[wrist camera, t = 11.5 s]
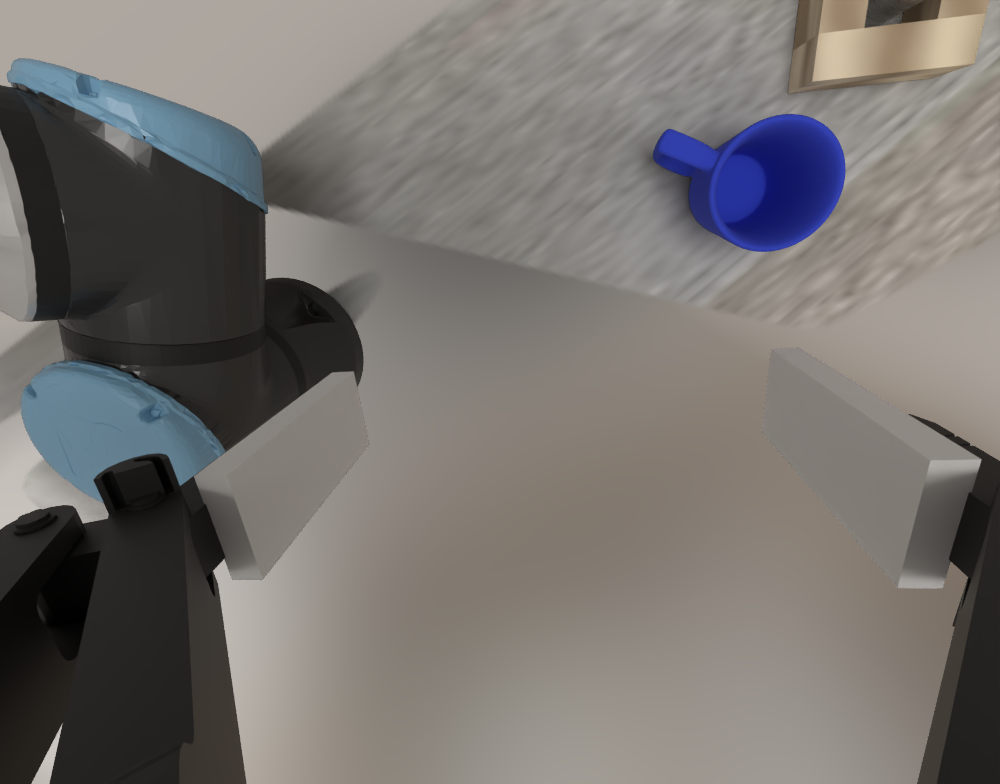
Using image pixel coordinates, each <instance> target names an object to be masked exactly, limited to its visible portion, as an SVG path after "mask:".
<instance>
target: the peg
mask: <svg viewBox="0 0 1000 784" xmlns="http://www.w3.org/2000/svg"><path fill="white" fill-rule="evenodd" d="M922 1H923V0H869V1H868V7H867V13H866V19H865V25H864V28H869V27H877V26H880V25H882V24H883V23H885V22H887V21H889V20H890V19H892V18H894V17H896V16H897V15H899V14H901V13H903V12H904V11H906V10H908V9H909V8H911V7H913V6H915V5H916V4H918V3H920V2H922Z"/></svg>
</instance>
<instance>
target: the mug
mask: <svg viewBox="0 0 1000 784" xmlns="http://www.w3.org/2000/svg"><path fill="white" fill-rule="evenodd" d="M653 159H654V161H655V162H656V163H657V164H659V165H660V166H662V167H664V168H666V169H668V170H670V171H672V172H675V173H677V174H680V175H683V176H689V177H692V180H691V184H690V188H689V204H690V208H691V211H692V213H693V215H694V217H695V219H696V220H697V221H698V222H699V223H700V224H701V225H702V226H703V227H704V228H706V229H707V230H709V231H711V232H712V233H714V234H716V235H718V236H720V237H722V238H723V239H725V240H727V241H729V242H731V243H733V244H734V245H736V246H738V247H741V248H743V249H747V250H751V251H759V252H767V251H775V250H780V249H784V248H787V247H790V246H792V245H794V244H796V243H798V242H800V241H802V240H804V239H805V238H807V237H808V236H810V235H811V234H812V233H813V232H815V231H816V230H817V229H818V228H819V227H820V226H821V225H822V224H823V223H824V222H825V221H826V219H827V218H828V217H829V215H830V214H831V213H832V211H833V209H834V208H835V206H836V204H837V202H838V200H839V197H840V195H841V192H842V189H843V185H844V180H845V159H844V154H843V150H842V148H841V145H840V143H839V141H838V139H837V138H836V136H835V135H834V134H833V133H832V131H831V130H830V129H829V128H828V127H826V126H825V125H824V124H822V123H821V122H819V121H817V120H815V119H813V118H810V117H807V116H803V115H796V114H784V115H777V116H773V117H769V118H766V119H763V120H761V121H759V122H757V123H755V124H753V125H751V126H750V127H748V128H746V129H745V130H744V131H742V132H741V133H739V134H738V135H736V136H735V137H733V138H732V139H730V140H729V141H727V142H726V143H724V144H723V145H721V146H720V147H718V148H717V149H716V150H714V149H712V148H711V147H709V146H708V145H706V144H704V143H702V142H700V141H698V140H696V139H694V138H691V137H689V136H687V135H685V134H682V133H680V132H677V131H675V130H672V129H668V130H666V131H665V132H664V133H663V134H662V136H661V137H660V139H659V140H658V142H657V144H656V146H655V149H654V151H653Z"/></svg>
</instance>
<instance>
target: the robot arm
mask: <svg viewBox="0 0 1000 784" xmlns="http://www.w3.org/2000/svg"><path fill="white" fill-rule="evenodd" d="M7 78H8V82H10V83H11V85H12V86H13V87H6V86H1V85H0V311H1V312H3V313H5V314H7V315H9V316H11V317H13V318H14V319H16V320H18V321H28V322H30V321H46V320H58V322H59V328H60V333H61V339H62V345H63V350H64V356H65V361H60V362H56V363H52V364H51V365H48V366H46V367H45V368H43V369H42V371H41V372H40V373H39V374H36V375H35V376H34V377H33V378H32V380H31V382H30V383H31V384H29V385H27V386H26V387H25V388H24V391H23V394H22V397H21V414H22V419H23V422H24V425H25V428H26V431H27V432H28V435H29V437H30V439H31V441H32V442H33V444H34V446H35V447H36V449H37V450H38V451H39V453H40V454H41V455H42V457H43V458H44V459H45V460H46V461H47V462H48V464H49V465H50V466H51V467H52V468H53V469H54V470H55V471H56V472H57V473H58V474H59V475H60V476H62V477H63V478H64V479H66V480H67V481H69V482H70V483H72V484H73V485H74V486H75V487H76V488H77V489H79V490H80V491H82V492H83V493H85V494H87V495H88V496H90V497H92V498H94V499H96V500H98V501H100V502H102V503H104V504H105V507H106V509H107V511H108V513H109V516H108V519H104V520H99V521H94V522H89V523H84V524H83V523H82V521H81V519H80V517H79V515H78V513H77V511H76V509H75V508H74V507H73V506H68V505H62V506H55V507H50V508H47V509H43V510H42V509H38V510H35V511H32V512H30V513H28V514H25V515H22V516H20V517H19V518H18V519H17V520H16V521H14V522H12V523H10V524H8V525H6V526H5V527H3V528H2V529H1V530H0V784H31V783H32V781H33V779H34V777H35V775H36V773H37V771H38V769H39V767H40V765H41V764H42V762H43V760H44V758H45V755H46V754H47V752H48V750H49V748H50V746H51V744H52V742H53V740H54V738H55V736H56V734H57V732H58V731H59V728H60V727H61V725H62V723H63V725H62V729H61V734H60V738H59V743H58V747H57V752H56V757H55V761H54V766H53V770H52V775H51V780H50V784H246V778H245V771H244V764H243V756H242V750H241V743H240V735H239V728H238V721H237V714H236V707H235V701H234V694H233V686H232V679H231V673H230V665H229V658H228V651H227V644H226V637H225V630H224V623H223V616H222V609H221V602H220V595H219V588H218V583H217V580H216V578H215V575H214V572H213V570H214V569H215V568H216V567H217V566H218V565H219V564H220V563H221V562H222V561H223V559H225V562H226V564H227V567H228V570H229V572H230V575H231V578H232V580H263V579H264V578H265V576H266V575H267V574H268V573H269V571H270V570H271V569H272V567H273V566H274V565H275V564H276V562H277V561H278V560H279V559H280V557H281V556H282V555H283V553H284V552H285V551H286V550H287V548H288V547H289V546H290V545H291V543H292V542H293V541H294V539H295V538H296V537H297V536H298V534H299V533H300V532H301V531H302V529H303V528H304V527H305V525H306V524H307V523H308V522H309V520H310V519H311V518H312V516H313V515H314V514H315V513H316V511H317V510H318V509H319V508H320V506H321V505H322V504H323V503H324V501H325V500H326V499H327V497H328V496H329V495H330V494H331V492H332V491H333V490H334V489H335V487H336V486H337V485H338V484H339V482H340V481H341V480H342V478H343V477H344V476H345V475H346V473H347V472H348V471H349V470H350V468H351V467H352V466H353V464H354V463H355V462H356V461H357V459H358V458H359V457H360V455H361V454H362V453H363V452H364V450H365V449H366V448H367V447H368V445H369V440H368V436H367V431H366V426H365V422H364V417H363V413H362V408H361V403H360V399H359V394H358V389H357V387H358V384H359V382H360V379H361V376H362V371H363V350H362V345H361V341H360V338H359V335H358V332H357V330H356V328H355V326H354V324H353V322H352V320H351V319H350V317H349V316H348V314H347V313H346V312H345V310H344V309H343V308H342V307H341V306H340V305H339V304H338V303H337V302H336V301H335V300H334V299H333V298H332V297H331V296H330V295H328V294H327V293H325V292H324V291H322V290H321V289H319V288H317V287H316V286H313V285H311V284H309V283H306V282H304V281H300V280H296V279H290V278H272V279H267V280H266V256H265V255H266V254H265V253H266V251H265V250H266V249H265V214H267V213H268V207H267V204H266V203H265V202H264V191H263V175H262V161H261V156H260V153H259V151H258V149H257V147H256V146H255V144H254V143H253V141H251V139H250V138H249V137H248V136H247V135H246V134H245V133H243V132H242V131H241V130H239V129H237V128H236V127H234V126H232V125H230V124H228V123H226V122H223V121H221V120H219V119H216V118H214V117H211V116H209V115H206V114H204V113H201V112H199V111H196V110H193V109H191V108H188V107H186V106H183V105H180V104H177V103H174V102H171V101H169V100H166V99H163V98H160V97H157V96H154V95H151V94H148V93H146V92H143V91H139V90H136V89H133V88H130V87H127V86H124V85H121V84H118V83H114V82H111V81H108V80H99V79H97V78H95V77H93V76H90V75H86V74H82V73H78V72H76V71H73V70H70V69H68V68H65V67H61V66H58V65H54V64H50V63H46V62H42V61H38V60H33V59H21V58H19V59H17V60H15V61H13V63H12V66H11V70H10V71H9V72H8V73H7ZM762 433H763V435H764V436H765V437H766V438H767V439H768V440H769V441H770V443H771V444H772V445H773V446H774V447H775V448H776V449H777V451H778V452H779V453H780V454H781V455H782V456H783V457H784V459H785V460H786V461H787V462H788V463H789V464H790V466H791V467H792V468H793V469H794V470H795V471H796V472H797V473H798V475H799V476H800V477H801V478H802V479H803V480H804V481H805V483H806V484H807V485H808V486H809V487H810V488H811V489H812V491H813V492H814V493H815V494H816V495H817V496H818V498H819V499H820V500H821V501H822V502H823V503H824V504H825V506H826V507H827V508H828V509H829V510H830V511H831V513H832V514H833V515H834V516H835V517H836V518H837V519H838V521H840V523H841V524H842V525H843V526H844V527H845V528H846V530H847V531H848V532H849V533H850V534H851V535H852V537H853V538H854V539H855V540H856V541H857V542H858V543H859V545H860V546H861V547H862V548H863V549H864V550H865V552H866V553H867V554H868V555H869V556H870V557H871V558H872V560H873V561H874V562H875V563H876V564H877V565H878V566H879V567H880V569H881V570H882V571H883V572H884V573H885V574H886V576H887V577H888V578H889V579H890V580H891V581H892V582H893V584H894V585H895V586H896V587H897V588H943V585H944V582H945V578H946V575H947V572H948V568H949V565H950V562H952V563H953V564H954V565H956V566H957V567H958V568H959V569H960V570H961V571H962V572H963V573H964V574H965V575H967V576H968V579H967V582H966V585H965V589H964V592H963V595H962V598H961V601H960V604H959V607H958V610H957V613H956V616H955V619H954V622H953V626H954V627H955V628H954V632H953V636H952V641H951V645H950V649H949V653H948V657H947V661H946V666H945V670H944V674H943V678H942V682H941V687H940V691H939V695H938V699H937V703H936V707H935V711H934V716H933V720H932V724H931V728H930V732H929V737H928V741H927V745H926V749H925V753H924V757H923V762H922V766H921V770H920V774H919V778H918V782H917V784H1000V461H999V460H997V459H995V458H994V457H992V456H990V455H989V454H987V453H985V452H984V451H982V450H980V449H979V448H977V447H975V446H970V443H968V442H967V441H965V440H963V439H962V438H960V437H958V436H957V437H955V436H954V434H953V433H951V432H950V431H948V430H946V429H945V428H943V427H941V426H940V425H938V424H936V423H934V422H931V421H928V420H925V419H922V418H920V417H917V416H914V415H911V414H907V413H905V412H903V411H902V410H900V409H898V408H897V407H895V406H894V405H892V404H890V403H889V402H887V401H885V400H884V399H882V398H881V397H879V396H877V395H876V394H874V393H872V392H871V391H869V390H867V389H866V388H864V387H862V386H861V385H859V384H858V383H856V382H854V381H853V380H851V379H849V378H848V377H846V376H845V375H843V374H841V373H840V372H838V371H836V370H835V369H833V368H831V367H830V366H828V365H827V364H825V363H823V362H822V361H820V360H818V359H817V358H815V357H813V356H812V355H810V354H809V353H807V352H805V351H803V350H802V349H800V348H781V349H771V355H770V363H769V372H768V381H767V390H766V399H765V408H764V416H763V425H762Z"/></svg>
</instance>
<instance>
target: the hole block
mask: <svg viewBox="0 0 1000 784" xmlns="http://www.w3.org/2000/svg"><path fill="white" fill-rule="evenodd" d="M868 1H869V0H799V6H798V14H797V22H796V30H795V39H794V47H793V55H792V63H791V72H790V80H789V88H788V94H789V93H798V92H807V91H817V90H826V89H836V88H845V87H854V86H864V85H873V84H883V83H892V82H901V81H911V80H920V79H930V78H934V77H937V76H940V75H943V74H946V73H949V72H952V71H955V70H958V69H961V68H964V67H967V66H969V65H972V64H974V62H975V58H976V54H977V50H978V45H979V41H980V37H981V33H982V29H983V24H984V20H985V16H986V12H987V7H988V3H989V0H923V1H922V2H920V3H918V4H916V5H915V6H913V7H911V8H909V9H908V10H906V11H904V13H903V18H902V24H894V25H885V26H877V27H869V28H864V25H865V19H866V13H867V7H868Z"/></svg>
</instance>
